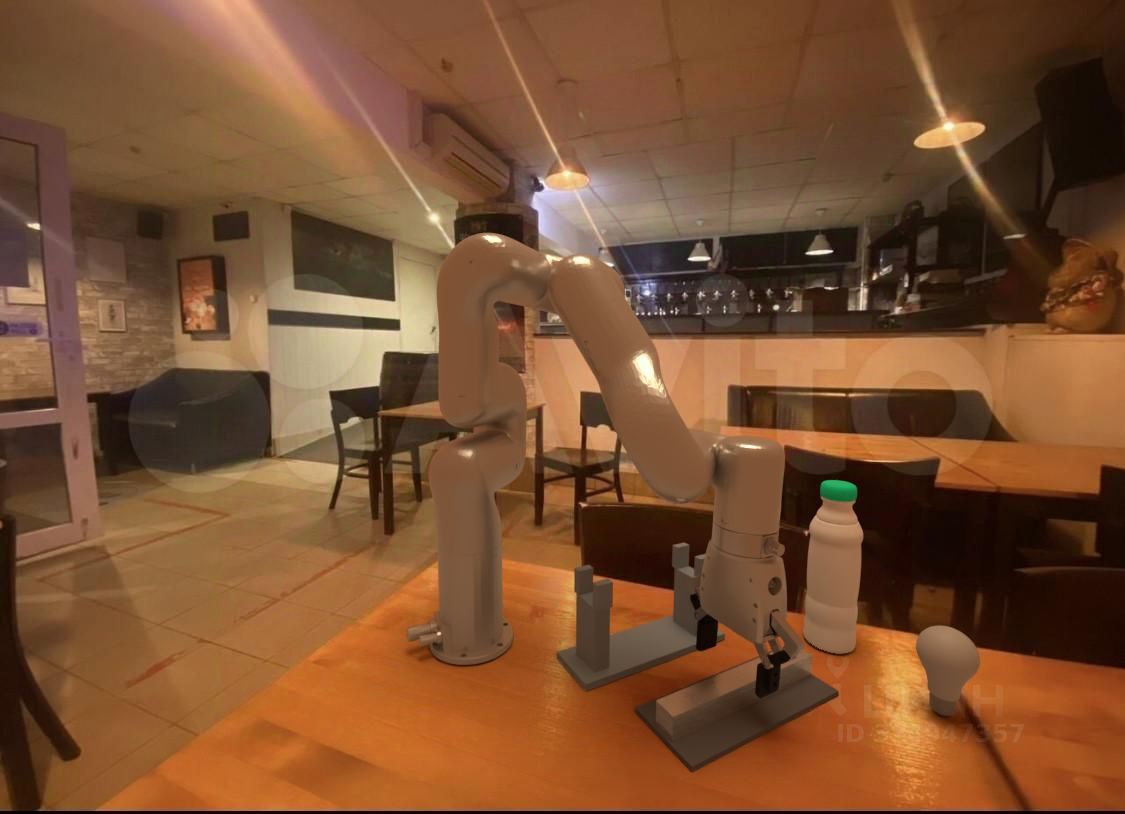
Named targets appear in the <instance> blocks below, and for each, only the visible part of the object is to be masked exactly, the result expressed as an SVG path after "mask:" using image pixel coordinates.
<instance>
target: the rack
mask: <svg viewBox="0 0 1125 814" xmlns="http://www.w3.org/2000/svg"><path fill="white" fill-rule="evenodd" d="M705 554H706V553H704V554H703V553H702V554H699V555H696V556H694V567H691V566H690V564H689V563H690V544H688V543H686V542H681V543H677V544H676V543H675V544H672V557H671V567H673V569H674V572H673V573H674V574H673V575H674V577H673V578H674V579H673V608H672V609H673V612H672V614H671V615H668V616H665V617H662V618H659V619H656V620H652V621H649V622H647V623H643V624H640V625H637V626H634V627H631V628H627V629H624V630H622V631H618V632H615V633H612V634H611V632H610V631H611V608H613V606H614V604H613V602H614V599H613V598H614V594H613V593H614V582H613V581H612V580H611V579H609V578H606V579H602V580H601V579H600V580H597V581H594V567H593V566H592V565H590V564H587V565H582V566H578V567H574V572H573V573H574V574H573V575H574V576H573V577H574V578H573V580H574V582H573V589H574V590H573V591H574V593H576V596H575V597H576V599H575V600H576V604H575V605H576V606H575V607H576V608H575V609H576V610H575V614H576V615H575V616H576V617H575V619H576V620H575V621H576V622H575V629H576V631H575V632H576V633H575V639H576V640H575V645H573V646H571V647H568V648H564V649H562V650H559V651H556V658H557V660H558V661H559V662H560V664H561V665H562V666H563V668H564V669H566V671H567V672H568V673H569V674H570V676H571V677H573V679H574V680H575V681H576V682H577V684H578V685H579V686H580V687H581V689H583V691H584V692H588V691H591V690H594V689H597V688H599V687H601V686H605V685H607V684H610V683H612V682H615V681H618V680H620V679H622V678H627V677H628V676H631V675H634V674H636V673H639V672H641V671H644V670H646V669H650V668H652V667H654V666H658V665H660V664H661V665H662V664H663V663H666V662H668V661H671V660H674V659H677V658H680V657H682V656H685V655H687V654H690V653H692V652H696V651H698V650H697V649H696V638H697V623H698V620H696V619H695V617H694V612H695V609H694V607H693V605H692V602H691V600H690V595H691V593H690V592H689V588H688V584H687V579H688V578H691V577H695V576H702V569H703V563H704V559H705ZM725 637H726V633H725V632H724V631H722V630H720V629H719V628H718V633H717V643H719V642H718V641H720V642H722V641H724V640H723V639H726V638H725ZM721 640H722V641H721ZM695 650H696V651H695Z"/></svg>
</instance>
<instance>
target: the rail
mask: <svg viewBox="0 0 1125 814" xmlns="http://www.w3.org/2000/svg"><path fill="white" fill-rule="evenodd" d="M772 654H773V652H772V653H770V655H772ZM812 658H813V655H812V654H811V653H809V652H807V651H806V650H804V649H802V650H801V652H800V653H799V654H798V655H797V656H796V658H795V659H793V660H791V661H789V662H786V663H784V664H781V670H780V681H779V688H778V690H777V691H776V692H779V691H781V690H783V689H785V688H787V687H789V686H791V685H793V684H795V683H798V682H800V681H802V680H804V679H806V678H808V677H810V676H811V674H812V662H813V661H812ZM761 662H762V661H761V659H760V658H757V659H755V660H752V661H750V662H747V663H745V664H743V665H740V666H738V667H735V668H733V669H731V670H728V671H726V672H723V673H721V674H719V675H716V676H714V677H711V678H709V679H706V680H704V681H702V682H699V683H697V684H694V685H692V686H690V687H687V688H685V689H682V690H680V691H678V692H675V693H673V694H670V695H668V696H666V697H663V698H661V699H658V700H656V725H657V726H658V727H659V728H660V729H661V730H662V731H663V732H664V733H665V734H666V735H667V736H668V737H669V738H670V739H671V740H672V741H675V740H677V739H679V738H681V737H684V736H686V735H688V734H690V733H692V732H694V731H696V730H698V729H700V728H703V727H705V726H707V725H709V724H711V723H713V722H715V721H717V720H719V719H722V718H724V717H726V716H728V715H730V714H732V713H734V712H736V711H738V710H741V709H743V708H745V707H747V706H749V705H751V704H753V703H755V702H757V701H760V700H762V699H764V698H766V697H768V696H770V695H772V694H774V693H776V692H774V693H771V694H769V695H767V696H765V697H762V698H759V697H758V696H757V695H756V693H755V685H756V673H757V665H758V664H759V663H761Z"/></svg>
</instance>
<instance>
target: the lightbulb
mask: <svg viewBox="0 0 1125 814" xmlns="http://www.w3.org/2000/svg"><path fill="white" fill-rule="evenodd" d="M915 648H916V649H915V650H916V653H917V657H918V659H919V661H920V663H921V665H922V667H923V668H924V671H925V675H926V679H927V689H928V691H929V697H928V699H929V700H928V703H929V707H930V708H931V709H932V710H933V711H934V712H936V713H937V714H938V715H940V716H943V717H946V716H947V717H948V716H949V717H950V716H954V715H955V713H956V709H957V702H958V701H959V700H960V698H961V694H962V690H963V689H964V688H963V687H964V686H965V685H966V683H967V682H969V681H970V680H972V678H973V677H974V676H975V675H976V674H977V673H978V671H979V669H980V666H981V658H980V653H979V650H978V648H977V647H976V645H975V643H974V642H973V641H972V640H971V639H970V638H969V637H968V636H967V635H966V634H964V633H963V632H962V631H960V630H958V629H956V628H954V627H952V626H946V625H934V626H933V625H932V626H929V627H927V628H925V629H923V630H922V631H921V632H920V633H919V635H918V637H917V639H916V643H915Z"/></svg>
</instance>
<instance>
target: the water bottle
mask: <svg viewBox="0 0 1125 814" xmlns="http://www.w3.org/2000/svg"><path fill="white" fill-rule="evenodd" d="M819 488H820V489H819V494H820V499H821V500H822V505H821V506H820V508H818V510H817V511H816V514H815V516H814V517H813V519H812V520H811V521H810V524H809V527H808V528H809V529H808V530H809V534H810V538H809V543H808V544H809V545H808V551H807V567H806V589H807V592H806V594H805V598H804V599H805V600H804V610H805V615H804V620H803V628H802V631H803V636H804V638H805V639H806V641H807V642H808V643H809V644H810V643H811V644H812V645H811V644H810V645H811V646H813V645H814V646H815V647H814V646H813V647H814V648H816V647H817V648H816V649H818V648H819V649H818V650H820V649H821V650H820V651H822V650H824V651H823V652H825V651H827V652H826V653H829V652H830V653H829V654H833V653H835V655H845V654H848V653H852V652H853V651H854V650H855V648H856V644H857V643H856V642H857V628H856V625H857V622H858V615H859V613H858V611H859V608H858V598H859V593H860V591H859V590H860V583H861V571H862V543H863V541H864V532H863V529H862V526H861V524H860V522H859V520H858V516H857V514H856V513H855V511H854V509H853V505H854V504H855V503H856V500H857V497H858V487H857V486H856V485H855V484H853V483H851V482H849V481H845V480H838V479H835V480H834V479H831V480H830V479H828V480H824V481H822V482H821V484H820V487H819ZM844 653H845V654H844Z"/></svg>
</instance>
